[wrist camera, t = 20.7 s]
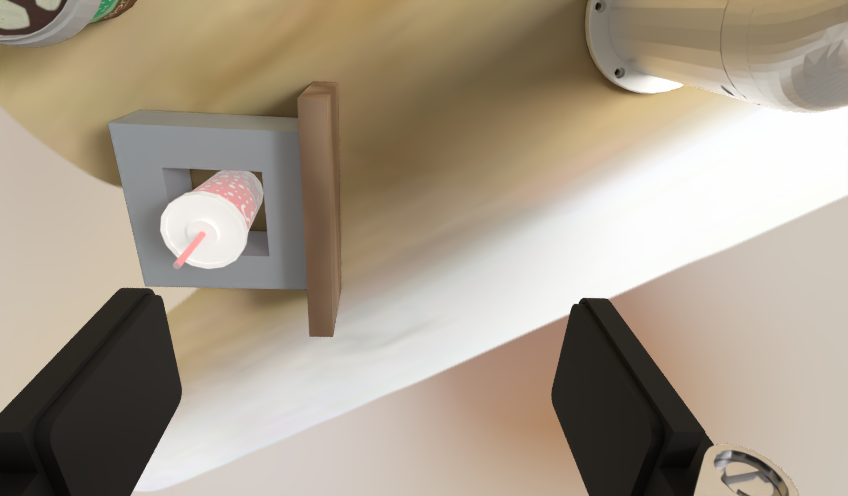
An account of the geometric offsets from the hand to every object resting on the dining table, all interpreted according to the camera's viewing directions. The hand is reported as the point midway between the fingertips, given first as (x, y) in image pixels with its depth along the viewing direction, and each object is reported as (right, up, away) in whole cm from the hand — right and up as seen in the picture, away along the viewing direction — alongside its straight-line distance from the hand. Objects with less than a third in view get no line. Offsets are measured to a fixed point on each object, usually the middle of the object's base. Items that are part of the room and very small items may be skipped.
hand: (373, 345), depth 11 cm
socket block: (-16, +7, +32) cm, 37 cm away
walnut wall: (-8, +7, +33) cm, 35 cm away
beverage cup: (-16, +8, +33) cm, 37 cm away
